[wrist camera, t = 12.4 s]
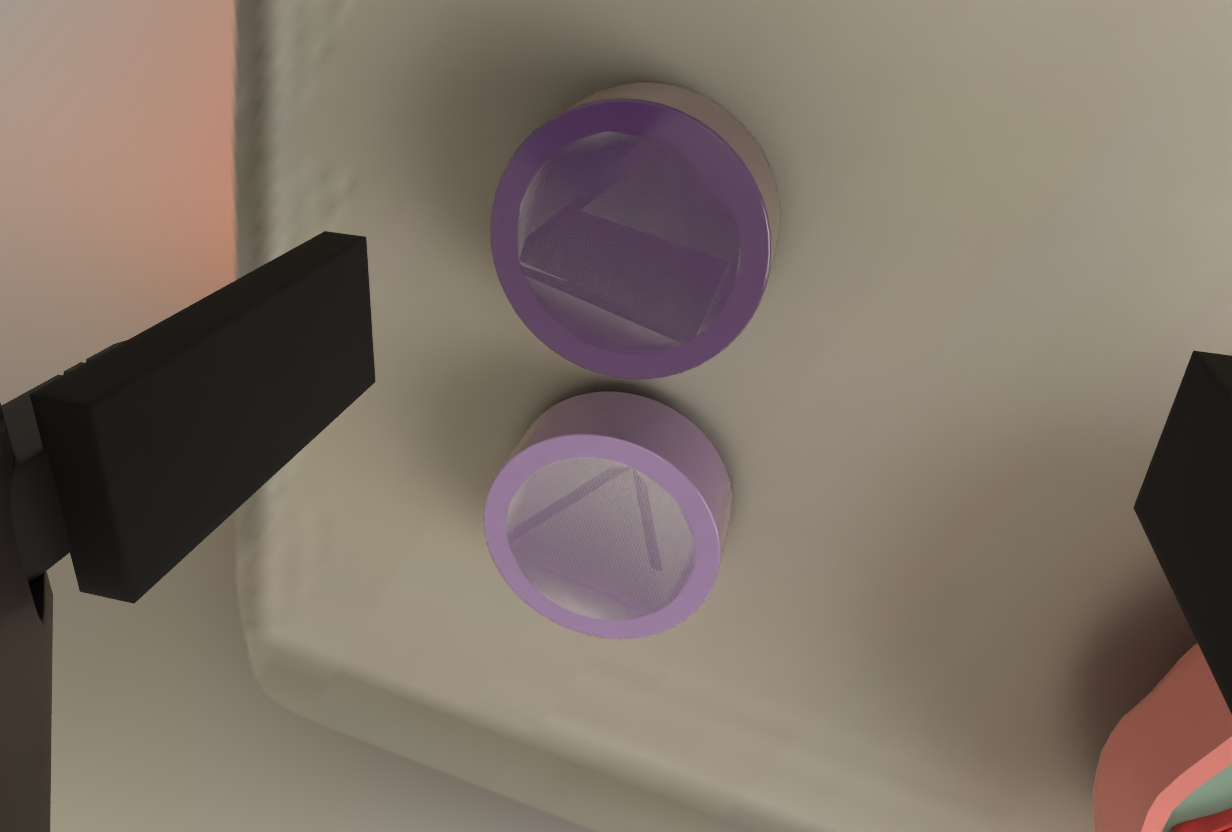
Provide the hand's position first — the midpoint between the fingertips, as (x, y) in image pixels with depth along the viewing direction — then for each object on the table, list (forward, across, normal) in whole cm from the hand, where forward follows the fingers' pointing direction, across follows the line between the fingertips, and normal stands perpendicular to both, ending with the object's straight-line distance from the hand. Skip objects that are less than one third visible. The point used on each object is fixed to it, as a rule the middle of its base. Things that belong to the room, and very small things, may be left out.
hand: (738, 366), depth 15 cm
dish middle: (+15, -4, -2) cm, 15 cm away
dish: (+15, -4, -12) cm, 19 cm away
